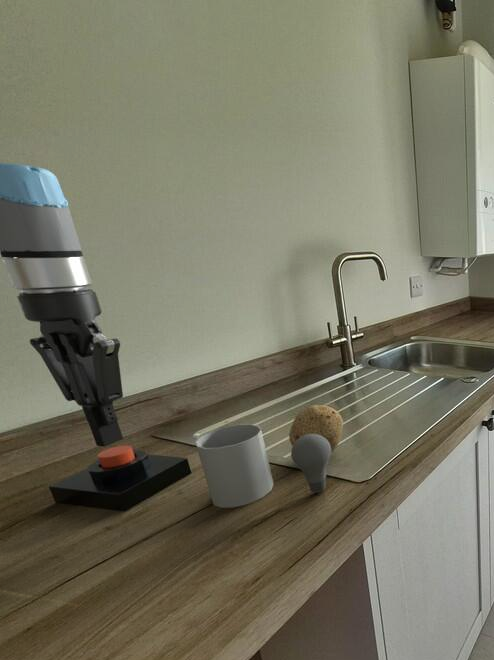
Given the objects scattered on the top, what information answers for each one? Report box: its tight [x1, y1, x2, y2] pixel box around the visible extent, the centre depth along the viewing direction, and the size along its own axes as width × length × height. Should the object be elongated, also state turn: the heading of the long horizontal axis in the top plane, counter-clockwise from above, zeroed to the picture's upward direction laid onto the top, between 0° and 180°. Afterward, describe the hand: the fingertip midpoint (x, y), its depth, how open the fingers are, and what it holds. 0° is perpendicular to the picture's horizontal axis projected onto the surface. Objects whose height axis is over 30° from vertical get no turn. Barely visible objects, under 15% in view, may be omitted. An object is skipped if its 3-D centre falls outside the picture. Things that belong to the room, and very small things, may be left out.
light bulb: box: [290, 434, 332, 494], centre depth 64 cm, size 6×6×10 cm
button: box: [97, 445, 135, 468], centre depth 65 cm, size 4×4×2 cm
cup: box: [195, 423, 275, 509], centre depth 64 cm, size 8×8×10 cm
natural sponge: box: [288, 404, 344, 454], centre depth 75 cm, size 9×9×10 cm
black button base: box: [48, 449, 192, 513], centre depth 66 cm, size 13×11×5 cm
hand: (110, 442), depth 64 cm, fingers closed
